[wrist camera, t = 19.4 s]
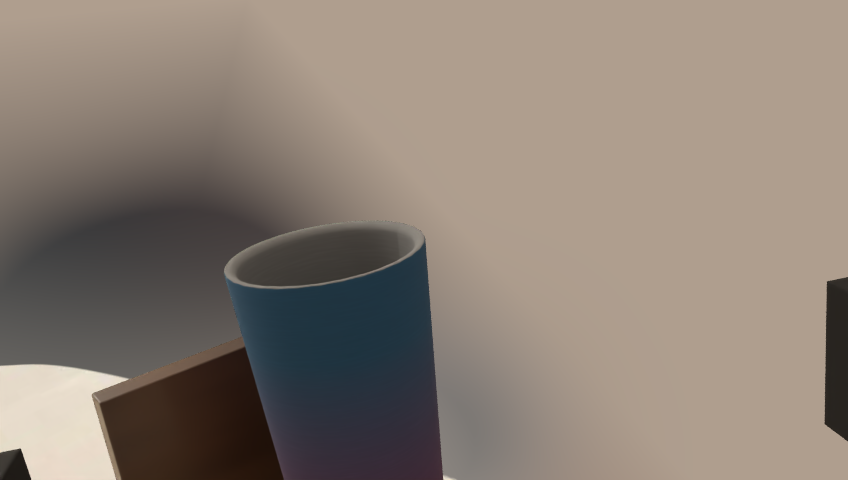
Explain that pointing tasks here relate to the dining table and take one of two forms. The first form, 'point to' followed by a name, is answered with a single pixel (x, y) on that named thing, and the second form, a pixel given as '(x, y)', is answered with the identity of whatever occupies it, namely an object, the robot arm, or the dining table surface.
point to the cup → (342, 350)
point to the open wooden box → (190, 421)
